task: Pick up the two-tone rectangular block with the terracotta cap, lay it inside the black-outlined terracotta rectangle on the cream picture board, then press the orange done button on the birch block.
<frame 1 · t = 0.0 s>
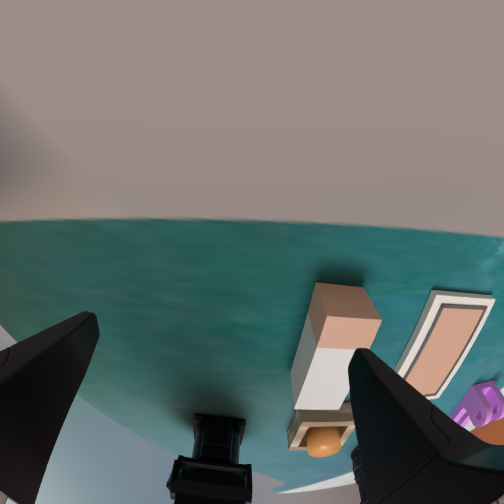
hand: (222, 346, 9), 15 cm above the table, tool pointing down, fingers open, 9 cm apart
two-tone rectangular block: (324, 334, 27), on the table
storage jar: (378, 446, 37), on the table
picture board: (436, 351, 28), on the table
button block: (319, 418, 33), on the table
bracket: (463, 407, 35), on the table
done button: (323, 440, 29), point 4 cm above the table, slide at 0.0 cm
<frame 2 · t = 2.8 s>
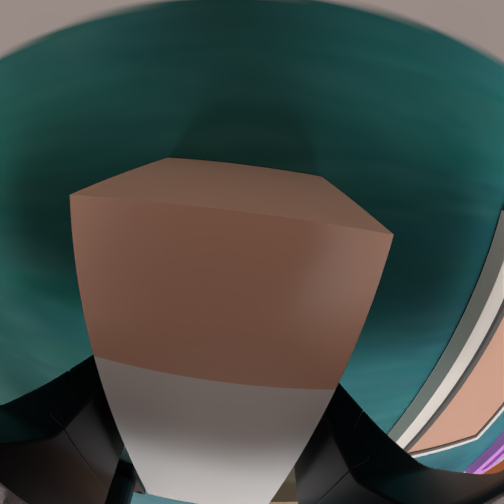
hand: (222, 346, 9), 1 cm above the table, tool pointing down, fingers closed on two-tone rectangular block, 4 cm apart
two-tone rectangular block: (225, 323, 10), on the table, touching gripper
picture board: (492, 362, 12), on the table
button block: (262, 479, 16), on the table
bracket: (501, 439, 18), on the table
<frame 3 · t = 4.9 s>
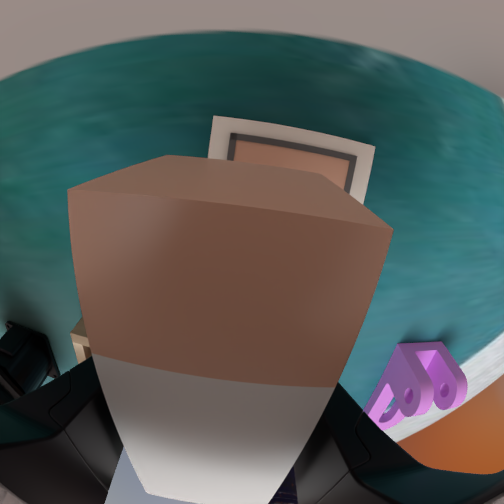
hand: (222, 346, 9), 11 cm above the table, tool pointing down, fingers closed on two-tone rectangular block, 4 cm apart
two-tone rectangular block: (224, 322, 10), point 10 cm above the table, touching gripper
storage jar: (254, 430, 29), on the table
picture board: (274, 247, 20), on the table
button block: (124, 351, 24), on the table
bracket: (395, 386, 27), on the table
when the fingers open (4 cm above the table, at t = 7.3 s): two-tone rectangular block drops 1 cm, resting on picture board.
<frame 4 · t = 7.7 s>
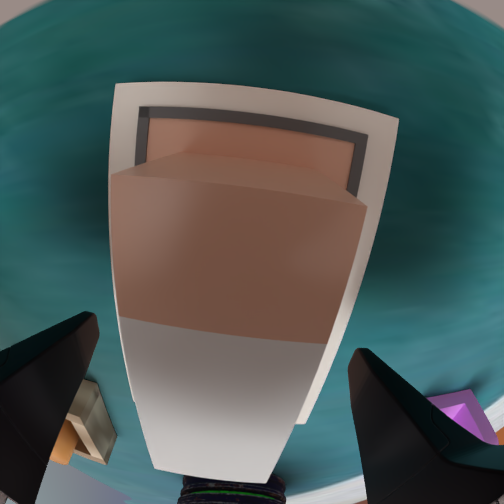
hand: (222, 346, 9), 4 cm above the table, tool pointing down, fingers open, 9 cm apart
two-tone rectangular block: (230, 303, 11), point 1 cm above the table, touching picture board
storage jar: (234, 483, 21), on the table
picture board: (232, 290, 13), on the table
button block: (68, 399, 17), on the table
bracket: (407, 439, 19), on the table
done button: (50, 433, 14), point 3 cm above the table, slide at 0.0 cm
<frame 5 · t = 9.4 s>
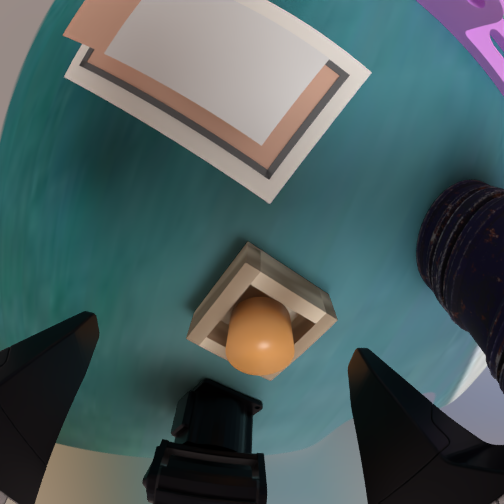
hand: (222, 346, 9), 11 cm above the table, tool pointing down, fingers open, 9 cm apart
two-tone rectangular block: (202, 55, 13), point 1 cm above the table, touching picture board
storage jar: (463, 239, 19), on the table
picture board: (206, 59, 14), on the table
button block: (260, 304, 21), on the table
bracket: (485, 42, 12), on the table
done button: (260, 336, 18), point 3 cm above the table, slide at 0.0 cm
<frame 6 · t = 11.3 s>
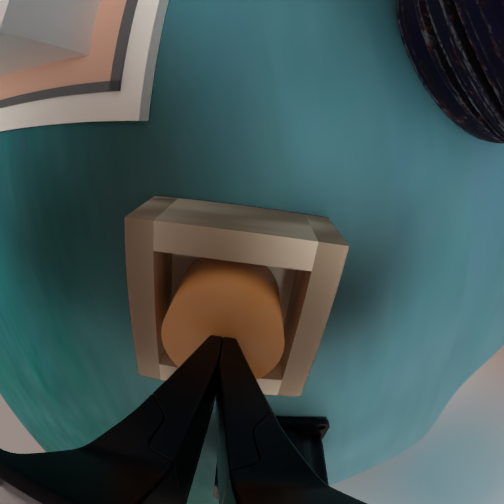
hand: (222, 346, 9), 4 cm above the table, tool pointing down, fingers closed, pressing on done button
two-tone rectangular block: (10, 35, 7), point 1 cm above the table, touching picture board
storage jar: (477, 48, 8), on the table
picture board: (24, 37, 8), on the table
button block: (231, 284, 13), on the table
done button: (226, 317, 11), point 3 cm above the table, slide at 1.0 cm, touching gripper
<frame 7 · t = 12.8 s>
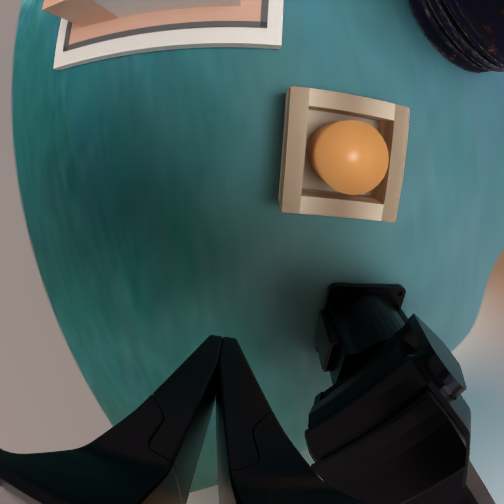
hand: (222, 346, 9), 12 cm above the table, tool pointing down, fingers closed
storage jar: (457, 19, 13), on the table
button block: (336, 152, 18), on the table
done button: (346, 155, 16), point 2 cm above the table, slide at 1.1 cm
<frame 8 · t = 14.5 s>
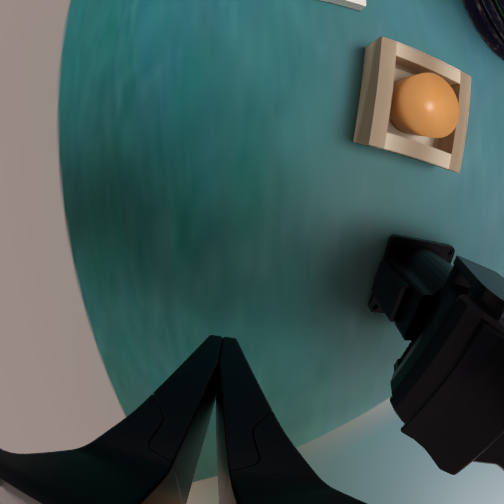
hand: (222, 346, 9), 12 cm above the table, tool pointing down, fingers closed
storage jar: (498, 18, 12), on the table
button block: (405, 107, 16), on the table
done button: (422, 105, 14), point 2 cm above the table, slide at 1.1 cm
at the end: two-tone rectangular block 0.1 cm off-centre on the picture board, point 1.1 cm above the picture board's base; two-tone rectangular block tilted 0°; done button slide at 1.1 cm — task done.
